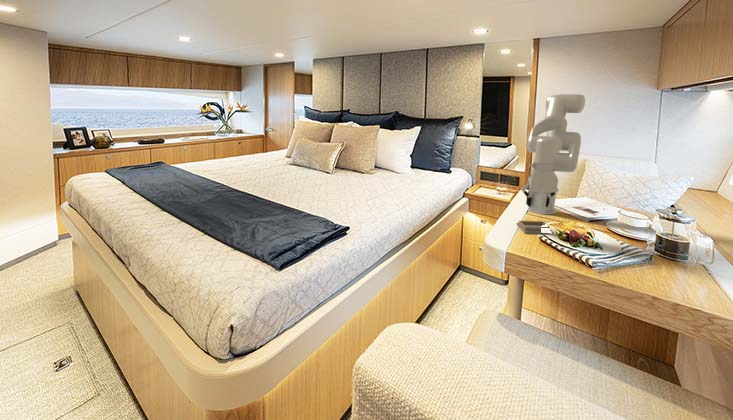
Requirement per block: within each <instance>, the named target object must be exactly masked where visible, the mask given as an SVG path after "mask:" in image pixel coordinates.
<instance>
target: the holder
mask: <svg viewBox="0 0 733 420" xmlns="http://www.w3.org/2000/svg"><path fill="white" fill-rule="evenodd" d="M545 224H547V223H546V222H545V221H541V220H540V221H539V220H537V221H536V220H518V222H516V226H517V227H518V228H519V229H520V231H522V232H523V233H524V234H528V235H529V234H530V235H534V234H535V235H542V234H541V228H550V227H551V226H550V227H549V225H548V227H541V226H542V225H545Z"/></svg>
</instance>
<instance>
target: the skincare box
mask: <svg viewBox="0 0 733 420" xmlns="http://www.w3.org/2000/svg"><path fill="white" fill-rule="evenodd" d="M531 198H532V201H531V206H530V207H529V206H528V209H527V211H528V212H529V213H533V214H537V215H546V214H545V209H546V201H547V193H544V188H541V191H540V193H533V194H532V196H531Z"/></svg>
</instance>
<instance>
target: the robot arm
mask: <svg viewBox="0 0 733 420" xmlns="http://www.w3.org/2000/svg"><path fill="white" fill-rule="evenodd" d="M585 105H586V97H585V95H584V94H577V93H576V94H572V93H571V94H566V93H565V94H562V93H560V94H553V95H550V96H547V98H546V99H545V111H546V112H545V116H544V118H543V119H542V120H539V122H537V123H536V124H535V125H534V126H533V127H532V128H531V130H530V133H529V136H528V139H527V143H526V149H527V151H528V152H530V153H532V154H533V153H535V154H534V161H533V163H530V165H529V166H530V168H532V169H531V170H530V172H529V176H528V181H527V183H526V184H525V185H523V186H522V187H520V190H521V191H522V193H523V194H524V195H525V197H526V201H525V203H526V206H527V207H528V208H529V207H530V206H531V201H532V198H531V196H532V194H533V193H540V191H541V188H544V193H547V201H546V209H545V214H544V215H556V214H557V212H558V210H557V209H555V203H556V198H557V193H558V192H559V188H558V185H559V177H558V175H557V173H555V172H562V173H573V172H575V171H576V169H577V166H578V161H579V156H580V151H581V145H582V144H581V143H582V136H581V134H580V133H579V132H575V131H567V126H568V121H567V119H566V116H567V114H580V113H581V112H582V111H583V110H584V109H585ZM543 133H546V135H545V136H543V135H542V134H543ZM562 151H564V152H562ZM526 189H527V190H526Z"/></svg>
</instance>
